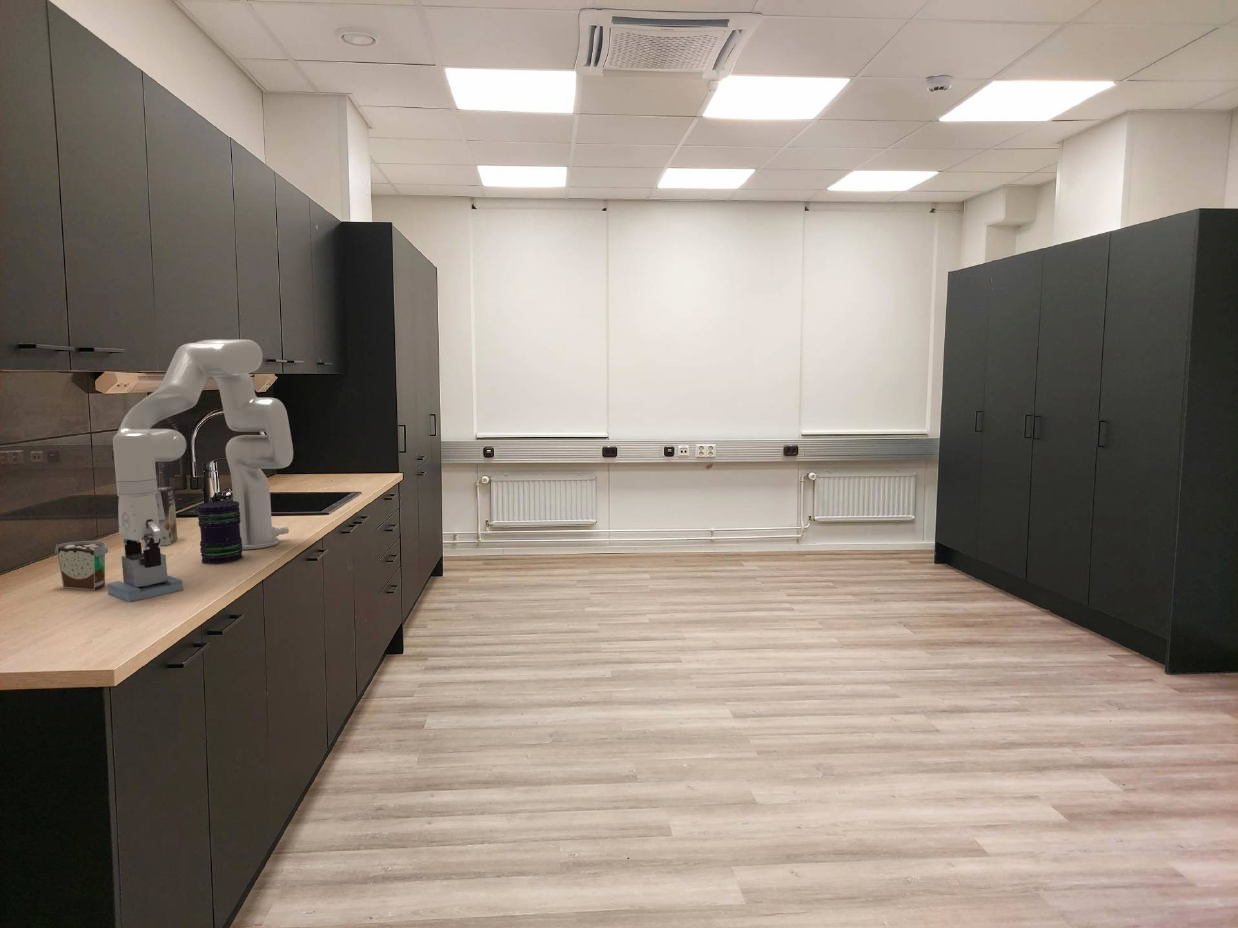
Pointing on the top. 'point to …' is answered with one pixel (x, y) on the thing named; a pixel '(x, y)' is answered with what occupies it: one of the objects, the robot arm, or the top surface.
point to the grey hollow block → (142, 571)
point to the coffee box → (166, 515)
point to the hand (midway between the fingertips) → (143, 563)
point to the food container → (82, 564)
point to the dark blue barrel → (220, 532)
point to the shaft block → (144, 589)
